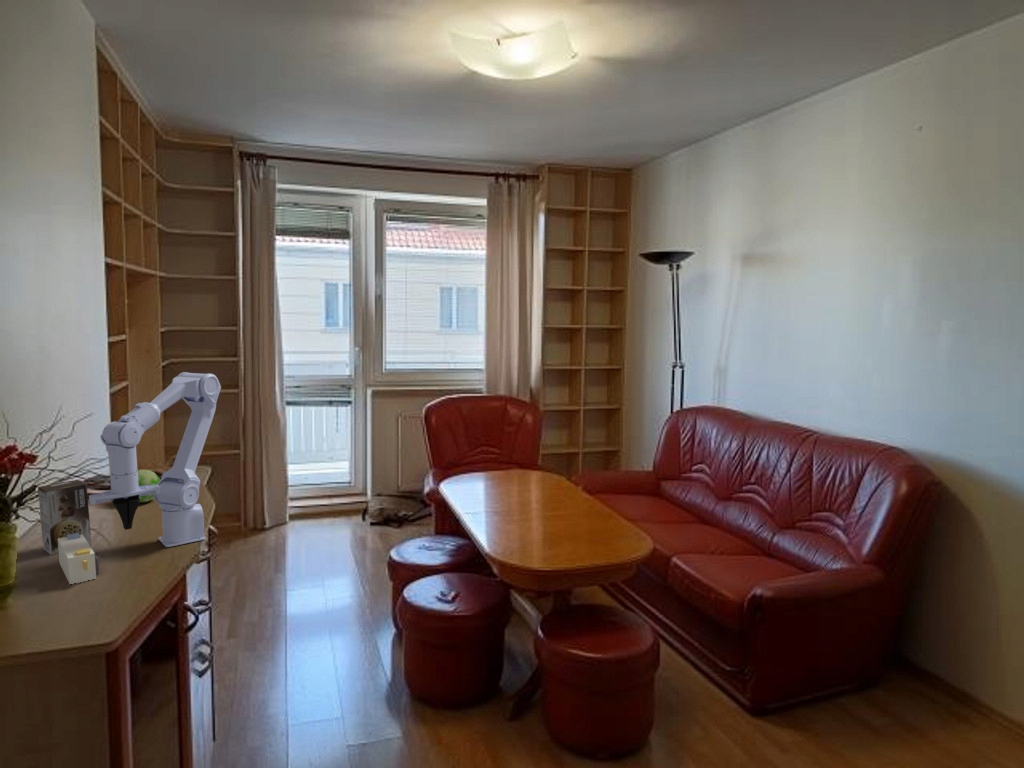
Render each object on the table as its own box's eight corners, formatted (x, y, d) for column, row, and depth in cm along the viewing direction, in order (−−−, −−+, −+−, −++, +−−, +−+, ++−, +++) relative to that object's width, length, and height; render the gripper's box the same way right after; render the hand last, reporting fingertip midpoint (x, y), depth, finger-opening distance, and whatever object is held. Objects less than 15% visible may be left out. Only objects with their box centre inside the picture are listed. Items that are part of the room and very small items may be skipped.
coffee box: (82, 539, 179) (78, 478, 177) (92, 545, 175) (88, 483, 173) (41, 549, 172) (37, 486, 170) (50, 555, 168) (46, 490, 166)
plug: (97, 569, 160) (96, 553, 159) (99, 575, 156) (97, 558, 156) (72, 574, 157) (71, 557, 156) (72, 580, 154) (71, 563, 153)
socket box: (82, 556, 167) (81, 530, 167) (97, 581, 153) (95, 552, 152) (58, 561, 164) (56, 534, 163) (71, 587, 150) (68, 557, 149)
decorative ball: (130, 508, 205) (128, 475, 204) (121, 501, 213) (119, 469, 211) (166, 502, 212) (164, 470, 211) (156, 495, 219) (154, 464, 218)
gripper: (153, 464, 170) (156, 517, 172) (84, 474, 161) (89, 530, 162) (160, 469, 165) (164, 524, 167) (90, 480, 155) (95, 538, 157)
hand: (127, 528), depth 164 cm, fingers closed
